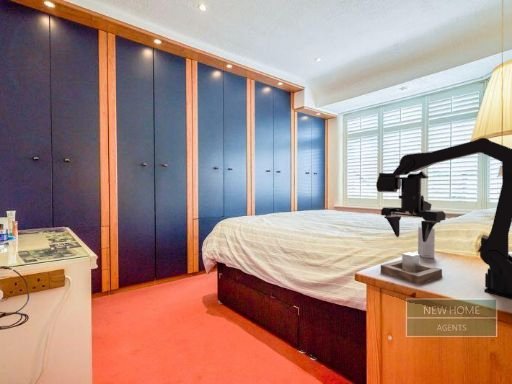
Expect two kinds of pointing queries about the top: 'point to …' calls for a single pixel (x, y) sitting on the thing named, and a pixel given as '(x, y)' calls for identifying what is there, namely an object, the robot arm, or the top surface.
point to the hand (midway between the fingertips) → (410, 239)
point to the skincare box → (426, 244)
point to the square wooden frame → (423, 276)
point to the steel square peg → (410, 262)
